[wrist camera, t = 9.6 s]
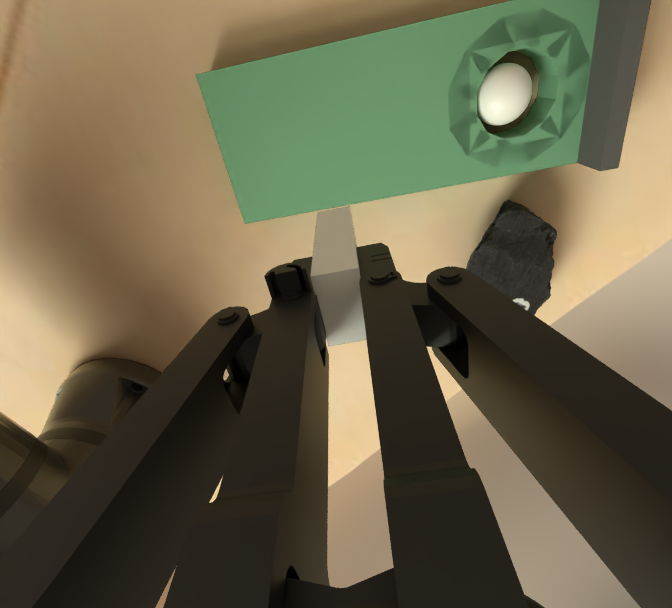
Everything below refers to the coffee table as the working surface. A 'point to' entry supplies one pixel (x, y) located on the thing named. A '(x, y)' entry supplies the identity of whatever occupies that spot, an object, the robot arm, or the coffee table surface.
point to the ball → (503, 94)
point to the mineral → (517, 256)
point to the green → (424, 105)
